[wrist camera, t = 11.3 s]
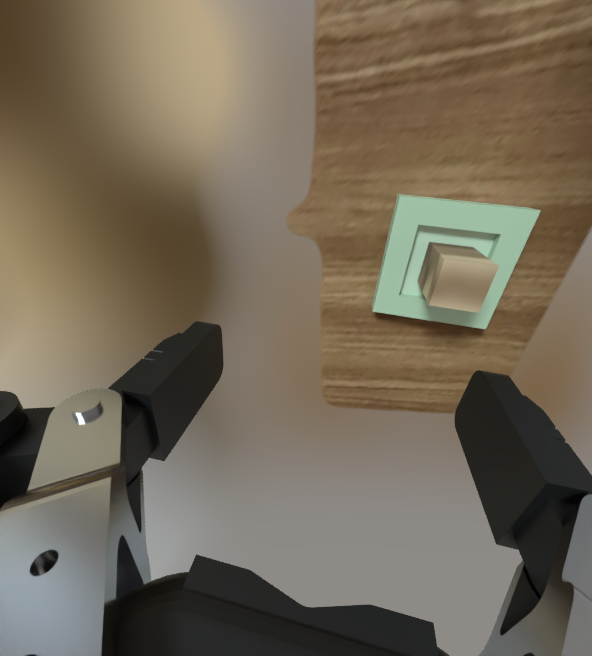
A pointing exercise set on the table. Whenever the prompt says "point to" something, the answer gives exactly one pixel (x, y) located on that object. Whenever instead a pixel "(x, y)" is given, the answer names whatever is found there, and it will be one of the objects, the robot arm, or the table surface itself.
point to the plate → (449, 228)
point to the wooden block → (456, 276)
